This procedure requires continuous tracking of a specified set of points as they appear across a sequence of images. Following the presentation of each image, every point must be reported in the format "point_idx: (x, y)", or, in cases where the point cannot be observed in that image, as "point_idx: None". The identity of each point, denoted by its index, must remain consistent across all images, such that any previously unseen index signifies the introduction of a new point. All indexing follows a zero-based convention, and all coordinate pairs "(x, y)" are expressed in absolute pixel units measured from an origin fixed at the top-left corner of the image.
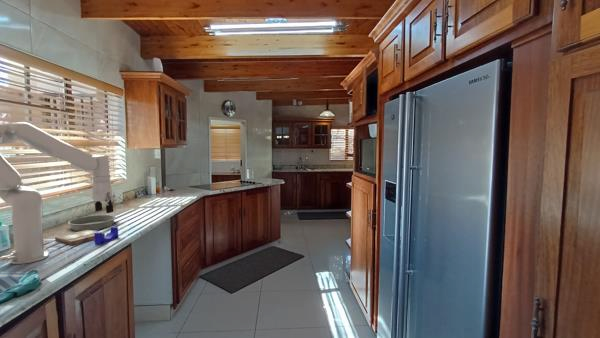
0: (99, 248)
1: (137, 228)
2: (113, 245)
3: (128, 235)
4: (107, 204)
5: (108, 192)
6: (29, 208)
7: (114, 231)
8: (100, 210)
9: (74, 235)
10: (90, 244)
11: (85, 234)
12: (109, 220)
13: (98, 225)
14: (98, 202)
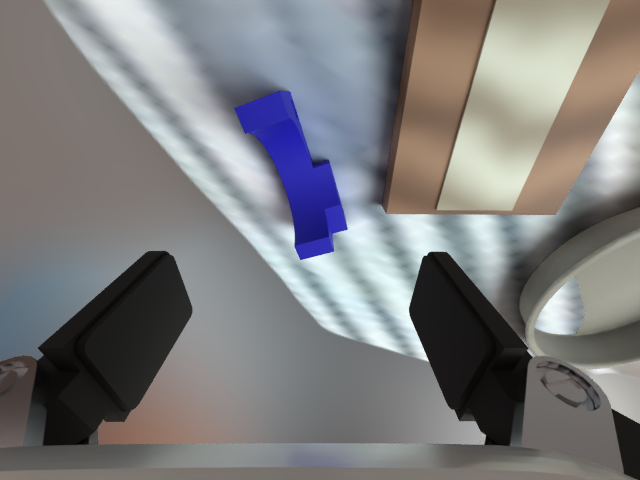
0: (177, 52)
1: (359, 327)
2: (178, 135)
3: (294, 263)
4: (6, 386)
5: None
6: None
7: (300, 229)
8: (416, 295)
9: (540, 86)
10: (316, 75)
11: (476, 141)
12: (529, 325)
13: (550, 276)
14: (492, 412)
